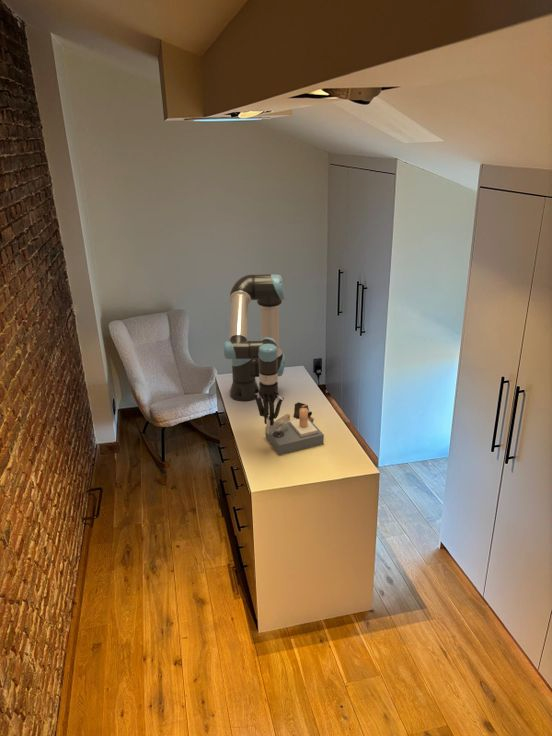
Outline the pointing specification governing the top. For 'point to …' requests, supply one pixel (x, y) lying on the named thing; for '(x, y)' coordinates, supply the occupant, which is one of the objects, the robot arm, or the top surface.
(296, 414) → the electronic device
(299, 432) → the cover
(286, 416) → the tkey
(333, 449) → the top surface
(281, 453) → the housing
